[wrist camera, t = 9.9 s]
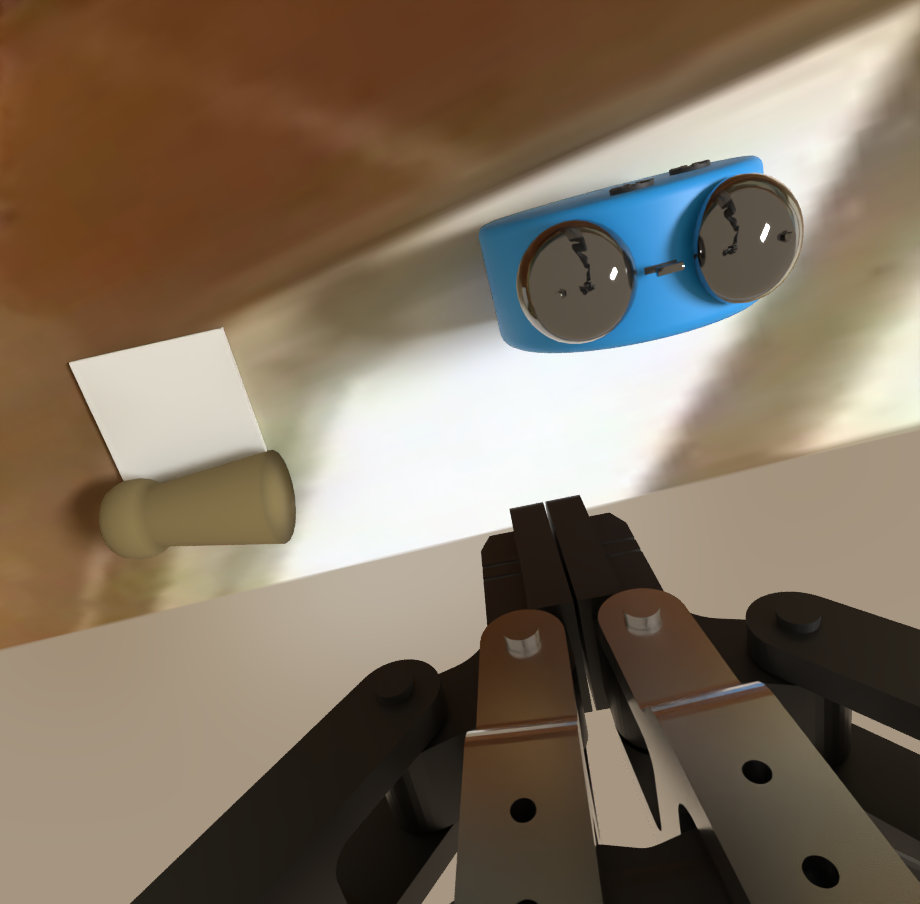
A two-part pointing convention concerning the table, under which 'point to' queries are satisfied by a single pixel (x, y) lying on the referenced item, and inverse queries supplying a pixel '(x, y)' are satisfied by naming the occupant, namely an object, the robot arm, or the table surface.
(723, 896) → the robot arm
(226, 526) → the cork
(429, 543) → the table surface
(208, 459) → the mat
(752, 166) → the alarm clock
